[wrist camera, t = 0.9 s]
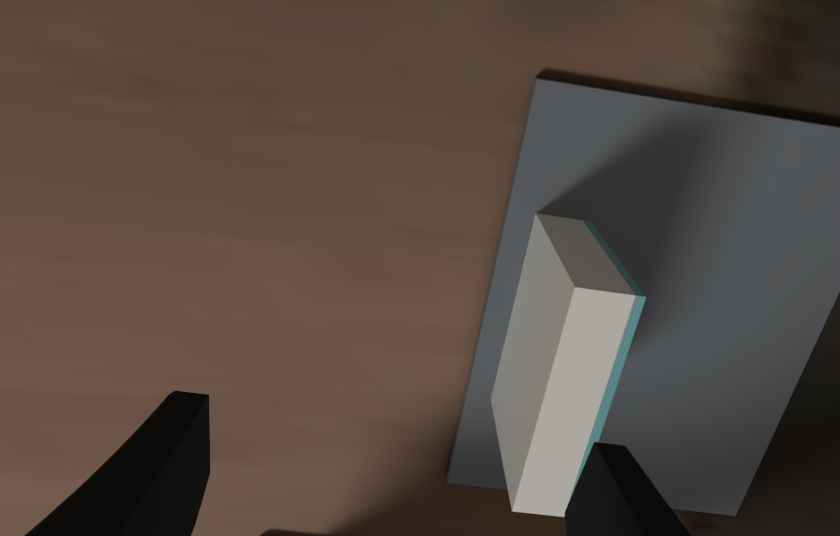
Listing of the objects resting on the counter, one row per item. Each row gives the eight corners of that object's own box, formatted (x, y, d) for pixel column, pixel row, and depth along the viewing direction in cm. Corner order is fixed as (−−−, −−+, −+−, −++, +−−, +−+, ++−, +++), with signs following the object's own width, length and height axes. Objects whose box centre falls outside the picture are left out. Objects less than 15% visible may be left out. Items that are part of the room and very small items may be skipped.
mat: (731, 509, 29) (735, 515, 29) (446, 476, 28) (447, 483, 28) (902, 136, 23) (910, 139, 22) (534, 77, 22) (537, 78, 21)
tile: (538, 405, 26) (572, 517, 21) (490, 399, 26) (512, 511, 21) (590, 221, 23) (646, 297, 18) (535, 213, 23) (574, 287, 18)
